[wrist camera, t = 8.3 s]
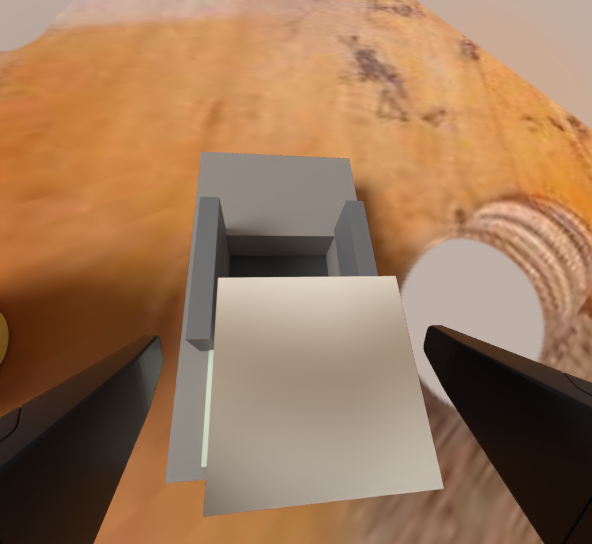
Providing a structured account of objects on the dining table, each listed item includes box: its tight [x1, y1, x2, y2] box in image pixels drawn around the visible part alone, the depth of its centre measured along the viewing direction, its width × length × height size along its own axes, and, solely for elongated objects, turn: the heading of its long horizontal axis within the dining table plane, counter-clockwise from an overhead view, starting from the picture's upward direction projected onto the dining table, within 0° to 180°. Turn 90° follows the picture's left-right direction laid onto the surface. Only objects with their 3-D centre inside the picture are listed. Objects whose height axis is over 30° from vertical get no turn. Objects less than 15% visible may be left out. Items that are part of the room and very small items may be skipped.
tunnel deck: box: [165, 152, 378, 483], centre depth 17 cm, size 20×11×6 cm, turn 3°
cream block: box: [204, 276, 444, 516], centre depth 10 cm, size 5×5×8 cm
